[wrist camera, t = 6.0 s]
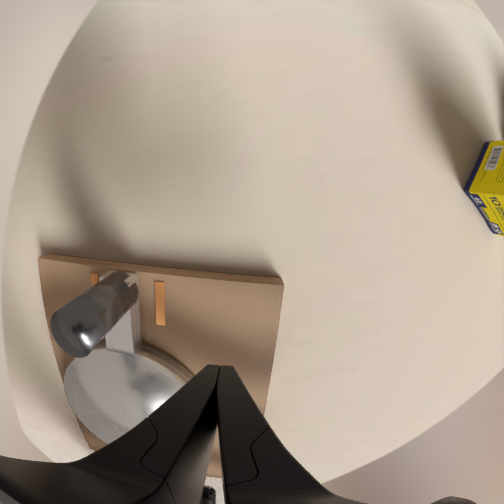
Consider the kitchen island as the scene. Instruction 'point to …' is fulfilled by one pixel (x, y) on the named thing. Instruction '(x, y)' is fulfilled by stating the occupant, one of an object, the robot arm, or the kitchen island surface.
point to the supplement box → (489, 185)
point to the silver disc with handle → (112, 358)
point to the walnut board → (183, 320)
